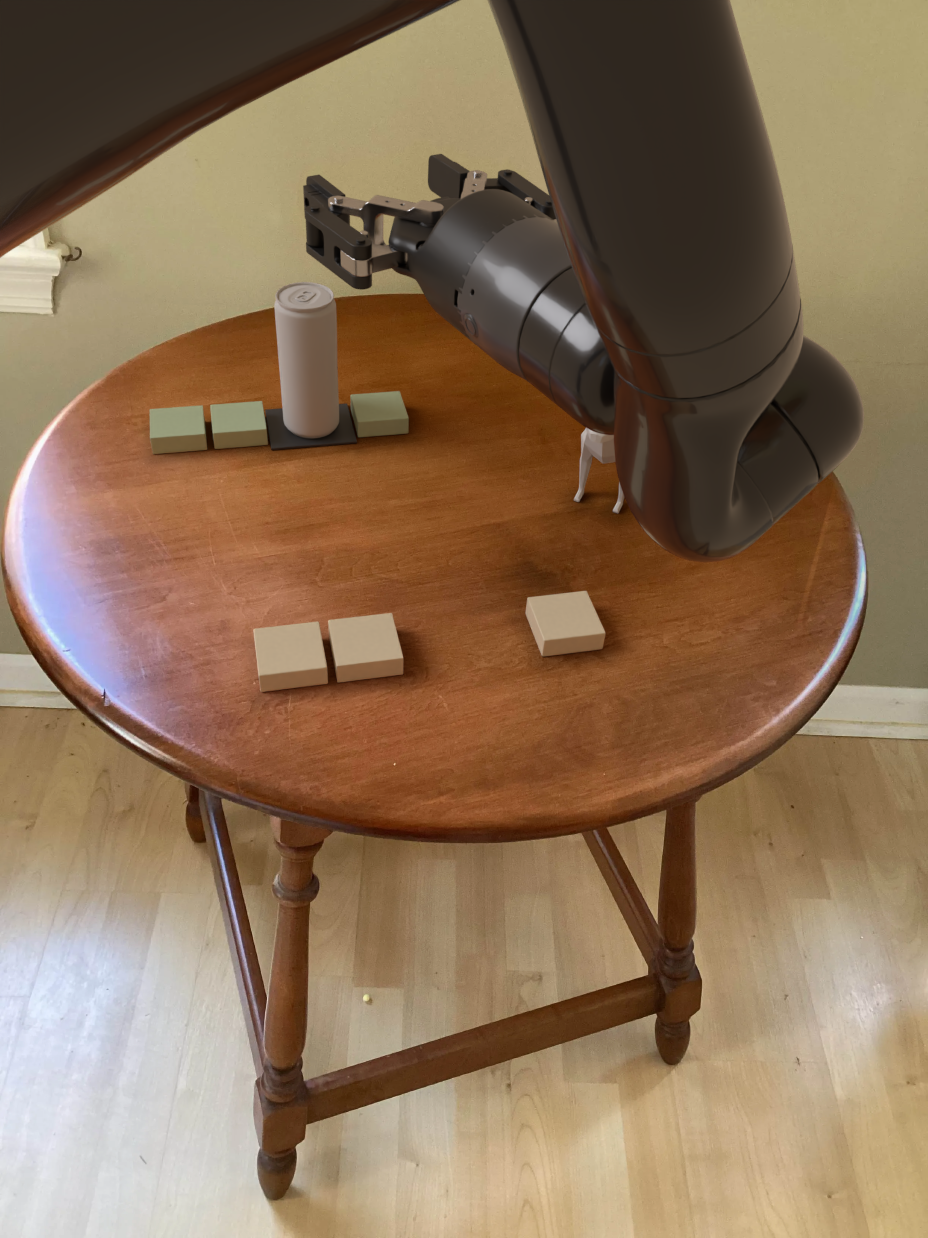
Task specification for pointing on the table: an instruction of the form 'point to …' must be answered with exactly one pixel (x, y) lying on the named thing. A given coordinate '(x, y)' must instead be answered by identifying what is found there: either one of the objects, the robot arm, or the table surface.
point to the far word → (272, 425)
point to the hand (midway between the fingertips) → (373, 180)
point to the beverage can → (308, 358)
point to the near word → (376, 648)
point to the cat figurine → (601, 450)
